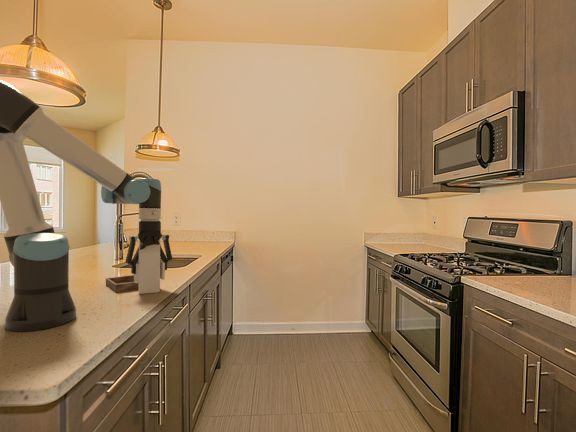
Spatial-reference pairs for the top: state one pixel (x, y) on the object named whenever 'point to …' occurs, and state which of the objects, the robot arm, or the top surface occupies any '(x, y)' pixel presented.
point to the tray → (122, 283)
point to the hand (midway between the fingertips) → (149, 280)
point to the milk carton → (149, 269)
